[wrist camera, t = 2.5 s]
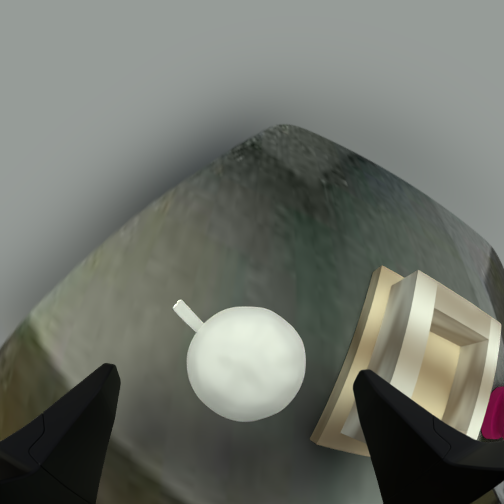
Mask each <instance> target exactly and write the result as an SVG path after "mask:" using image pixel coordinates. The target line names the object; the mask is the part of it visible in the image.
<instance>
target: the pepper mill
mask: <svg viewBox="0 0 504 504" xmlns="http://www.w3.org/2000/svg"><path fill="white" fill-rule="evenodd" d="M481 431H482V435H483V436H484V437H485V438H486V439H499V438H501V437H503V439H504V386H503V387H498V388H496V389H495V390H494V391H493V392H492V393H491V394H490V398H489V402H488V406H487V409H486V413H485V416H484V419H483V423H482V426H481Z"/></svg>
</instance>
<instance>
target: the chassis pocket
mask: <svg viewBox="0 0 504 504" xmlns="http://www.w3.org/2000/svg"><path fill="white" fill-rule="evenodd" d="M500 334H501V323H499V322H498V321H496V320H495V319H494V318H492V317H491V316H489V315H488V314H486V313H485V312H483V311H482V310H481V309H479V308H478V307H476V306H475V305H473V304H472V303H470V302H469V301H467V300H466V299H464V298H463V297H461V296H460V295H458V294H456V293H455V292H453V291H452V290H450V289H449V288H447V287H445V286H444V285H442V284H441V283H439V282H437V281H436V280H434V279H433V278H431V277H429V276H428V275H426V274H424V273H423V272H421V271H419V270H417V271H415V272H414V273H412V274H410V275H409V276H407V277H405V278H404V277H402V276H400V275H399V274H397V273H395V272H393V271H391V270H390V269H388V268H386V267H384V266H381V267H379V268H378V269H377V270H375V271H374V272H373V274H372V278H371V281H370V285H369V289H368V292H367V296H366V299H365V302H364V306H363V309H362V312H361V315H360V318H359V321H358V325H357V328H356V330H355V333H354V336H353V339H352V342H351V345H350V348H349V350H348V353H347V356H346V358H345V361H344V364H343V366H342V369H341V371H340V374H339V376H338V379H337V381H336V383H335V386H334V388H333V391H332V393H331V395H330V397H329V400H328V402H327V404H326V406H325V409H324V411H323V413H322V415H321V417H320V419H319V421H318V423H317V425H316V427H315V429H314V431H313V433H312V435H311V437H310V440H311V441H313V442H314V443H315V444H317V445H321V446H325V447H328V448H332V449H336V450H340V451H345V452H349V453H354V454H359V455H364V456H369V457H370V454H369V451H368V447H367V444H366V441H365V438H364V434H363V431H362V428H361V425H360V421H359V417H358V412H357V407H356V402H355V398H354V393H353V383H354V381H355V379H356V377H357V375H358V373H359V371H360V370H365V369H370V370H372V371H373V372H375V373H376V374H377V375H379V376H380V377H382V378H383V379H384V380H386V381H387V382H388V383H390V384H391V385H392V386H394V387H395V388H397V389H398V390H399V391H401V392H402V393H403V394H405V395H406V396H408V397H409V398H410V399H412V400H413V401H415V402H416V403H417V404H419V405H420V406H422V407H423V408H424V409H426V410H427V411H429V412H430V413H431V414H432V415H434V416H436V417H437V418H439V419H440V420H442V421H443V422H445V423H446V424H448V425H449V426H451V427H453V428H455V429H456V430H458V431H460V432H462V433H464V434H465V435H467V436H469V437H471V438H473V439H475V440H477V437H478V435H479V432H480V429H481V426H482V423H483V419H484V416H485V413H486V409H487V406H488V402H489V398H490V394H491V389H492V385H493V380H494V375H495V370H496V364H497V358H498V351H499V344H500Z"/></svg>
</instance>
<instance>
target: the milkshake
mask: <svg viewBox="0 0 504 504" xmlns="http://www.w3.org/2000/svg"><path fill="white" fill-rule="evenodd" d="M172 309H173V311H174V312H175V313H176V314H177V315H178V316H179V317H180V318H181V319H182V320H183V321H184V322H185V323H186V324H187V325H189V326H190V327H191V328H192V329H193V330H194V331H195V332H196V334H195V336H194V337H193V339H192V341H191V344H190V346H189V349H188V354H187V372H188V377H189V380H190V383H191V386H192V388H193V390H194V392H195V393H196V395H197V396H198V398H199V399H200V400H201V401H202V402H203V403H204V404H205V405H206V406H207V407H209V408H210V409H211V410H212V411H214V412H215V413H217V414H219V415H220V416H223V417H225V418H228V419H231V420H235V421H240V422H250V421H256V420H260V419H263V418H266V417H269V416H271V415H274V414H276V413H278V412H280V411H281V410H283V409H284V408H285V407H286V406H287V405H288V404H289V403H290V402H291V401H292V400H293V398H294V397H295V396H296V394H297V392H298V391H299V389H300V387H301V385H302V382H303V379H304V375H305V367H306V356H305V349H304V345H303V342H302V340H301V338H300V336H299V334H298V333H297V332H296V330H295V329H294V328H293V327H292V326H291V325H290V324H289V323H288V322H287V321H285V320H284V319H283V318H282V317H280V316H279V315H277V314H276V313H274V312H273V311H270V310H268V309H265V308H260V307H233V308H228V309H225V310H223V311H220V312H219V313H217V314H215V315H214V316H212V317H211V318H210V319H208V320H207V321H206V322H205V323H203V322H202V321H201V320H200V319H199V317H198V316H197V315H196V314H195V313H194V312H193V311H192V310H191V309H190V308H189V306H188V305H187V304H186V303H185V302H184V301H183V300H182V299H180V300H179V301H178V302H177V303H176V304H175V305H174V306H173V308H172Z"/></svg>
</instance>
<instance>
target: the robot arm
mask: <svg viewBox="0 0 504 504" xmlns="http://www.w3.org/2000/svg"><path fill="white" fill-rule="evenodd" d="M120 385H121V381H120V377H119V374H118V371H117V368H116V366H115V365H114V364H109V363H104V364H103V365H101V366H100V367H99V368H98V369H96V370H95V371H94V372H93V373H91V374H90V375H89V376H88V377H86V378H85V379H84V380H83V381H81V382H80V383H79V384H78V385H76V386H75V387H74V388H73V389H71V390H70V391H69V392H68V393H66V394H65V395H64V396H63V397H61V398H60V399H59V400H58V401H56V402H55V403H54V404H53V405H52V406H50V407H49V408H48V409H47V410H45V411H44V412H43V413H41V414H40V415H39V416H38V417H37V418H35V419H34V420H33V421H31V422H30V423H29V424H27V425H26V426H24V427H23V428H21V429H20V430H18V431H17V432H15V433H14V434H12V435H10V436H9V437H7V438H5V439H4V440H2V441H1V442H0V504H96V498H97V493H98V487H99V482H100V478H101V473H102V468H103V464H104V460H105V455H106V451H107V447H108V443H109V439H110V435H111V432H112V428H113V424H114V420H115V415H116V409H117V402H118V396H119V391H120ZM353 393H354V398H355V402H356V407H357V412H358V417H359V421H360V425H361V428H362V431H363V434H364V438H365V441H366V444H367V447H368V451H369V454H370V457H371V461H372V464H373V467H374V471H375V474H376V478H377V481H378V485H379V489H380V492H381V496H382V500H383V504H504V441H500V442H489V443H486V442H480V441H477V440H475V439H473V438H471V437H469V436H467V435H465V434H464V433H462V432H460V431H458V430H456V429H455V428H453V427H451V426H449V425H448V424H446V423H445V422H443V421H442V420H440V419H439V418H437V417H436V416H434V415H432V414H431V413H430V412H429V411H427V410H426V409H424V408H423V407H422V406H420V405H419V404H417V403H416V402H415V401H413V400H412V399H410V398H409V397H408V396H406V395H405V394H403V393H402V392H401V391H399V390H398V389H397V388H395V387H394V386H392V385H391V384H390V383H388V382H387V381H386V380H384V379H383V378H382V377H380V376H379V375H377V374H376V373H375V372H373V371H372V370H370V369H365V370H360V371H359V373H358V375H357V377H356V379H355V381H354V383H353Z"/></svg>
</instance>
